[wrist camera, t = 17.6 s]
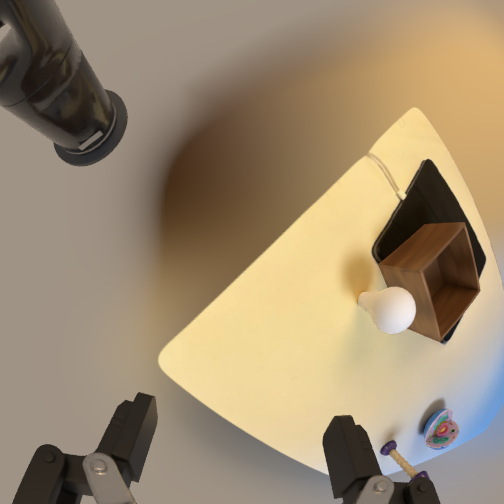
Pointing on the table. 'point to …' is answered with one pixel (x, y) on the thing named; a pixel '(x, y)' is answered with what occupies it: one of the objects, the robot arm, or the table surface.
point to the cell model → (440, 430)
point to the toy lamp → (401, 461)
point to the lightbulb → (389, 308)
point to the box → (435, 276)
